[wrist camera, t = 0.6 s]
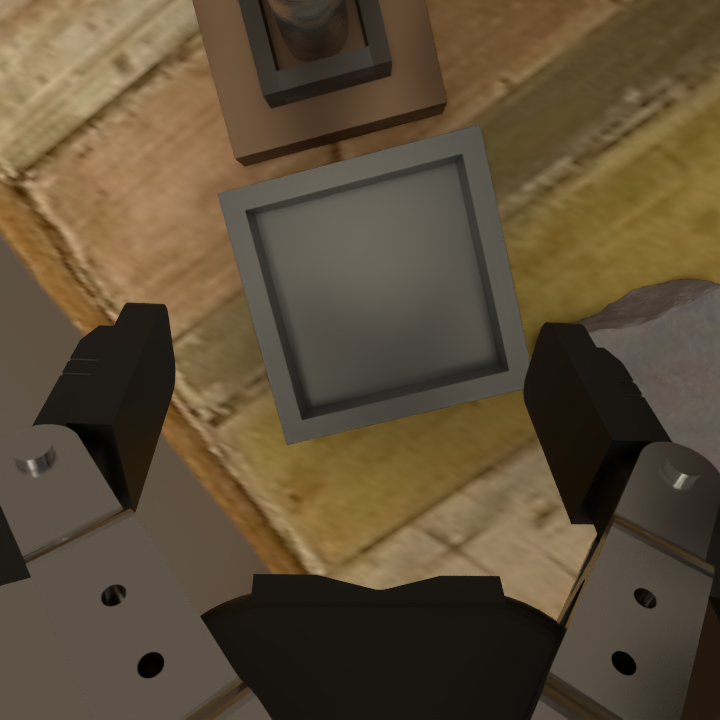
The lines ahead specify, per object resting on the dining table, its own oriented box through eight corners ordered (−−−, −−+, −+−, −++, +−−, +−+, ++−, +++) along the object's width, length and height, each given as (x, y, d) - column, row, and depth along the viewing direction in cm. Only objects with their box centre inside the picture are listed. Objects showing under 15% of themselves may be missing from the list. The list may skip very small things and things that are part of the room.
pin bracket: (399, -85, 27) (402, -144, 23) (442, 113, 29) (452, 88, 25) (193, -26, 28) (163, -74, 24) (244, 166, 29) (224, 149, 25)
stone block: (675, 260, 31) (512, 343, 30) (749, 253, 27) (559, 351, 26) (745, 454, 33) (595, 538, 32) (825, 480, 29) (652, 579, 28)
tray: (469, 139, 29) (479, 124, 26) (519, 375, 31) (534, 386, 28) (233, 201, 30) (217, 193, 27) (295, 428, 31) (286, 444, 28)
